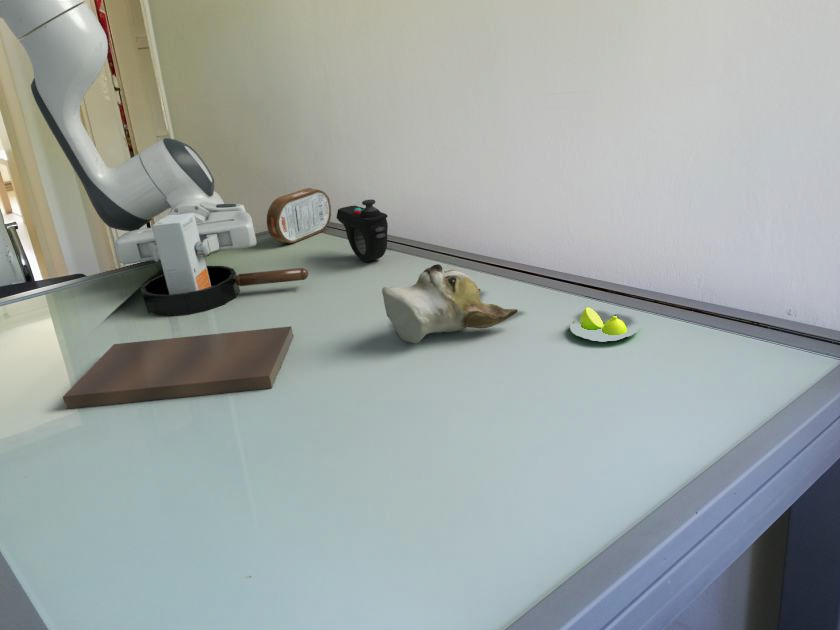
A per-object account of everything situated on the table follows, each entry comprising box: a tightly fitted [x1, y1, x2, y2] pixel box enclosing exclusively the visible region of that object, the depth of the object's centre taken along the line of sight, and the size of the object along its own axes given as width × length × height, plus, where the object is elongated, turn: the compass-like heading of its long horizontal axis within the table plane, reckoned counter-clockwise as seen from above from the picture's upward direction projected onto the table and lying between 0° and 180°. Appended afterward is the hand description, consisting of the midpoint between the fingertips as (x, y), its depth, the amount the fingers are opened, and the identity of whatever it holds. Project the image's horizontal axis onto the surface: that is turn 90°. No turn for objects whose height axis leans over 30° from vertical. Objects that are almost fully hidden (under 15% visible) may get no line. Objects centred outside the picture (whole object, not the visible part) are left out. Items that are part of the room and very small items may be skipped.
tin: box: [266, 187, 332, 244], centre depth 133 cm, size 15×3×8 cm, turn 149°
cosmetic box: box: [151, 213, 211, 295], centre depth 105 cm, size 6×4×12 cm
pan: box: [140, 265, 309, 317], centre depth 107 cm, size 24×13×3 cm, turn 92°
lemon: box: [579, 307, 627, 335], centre depth 83 cm, size 8×8×3 cm
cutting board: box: [62, 325, 294, 410], centre depth 83 cm, size 22×14×2 cm, turn 93°
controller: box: [336, 199, 389, 262], centre depth 117 cm, size 4×12×10 cm, turn 34°
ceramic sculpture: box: [381, 263, 519, 344], centre depth 86 cm, size 11×9×15 cm
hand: (180, 253), depth 104 cm, fingers closed on cosmetic box, 4 cm apart
